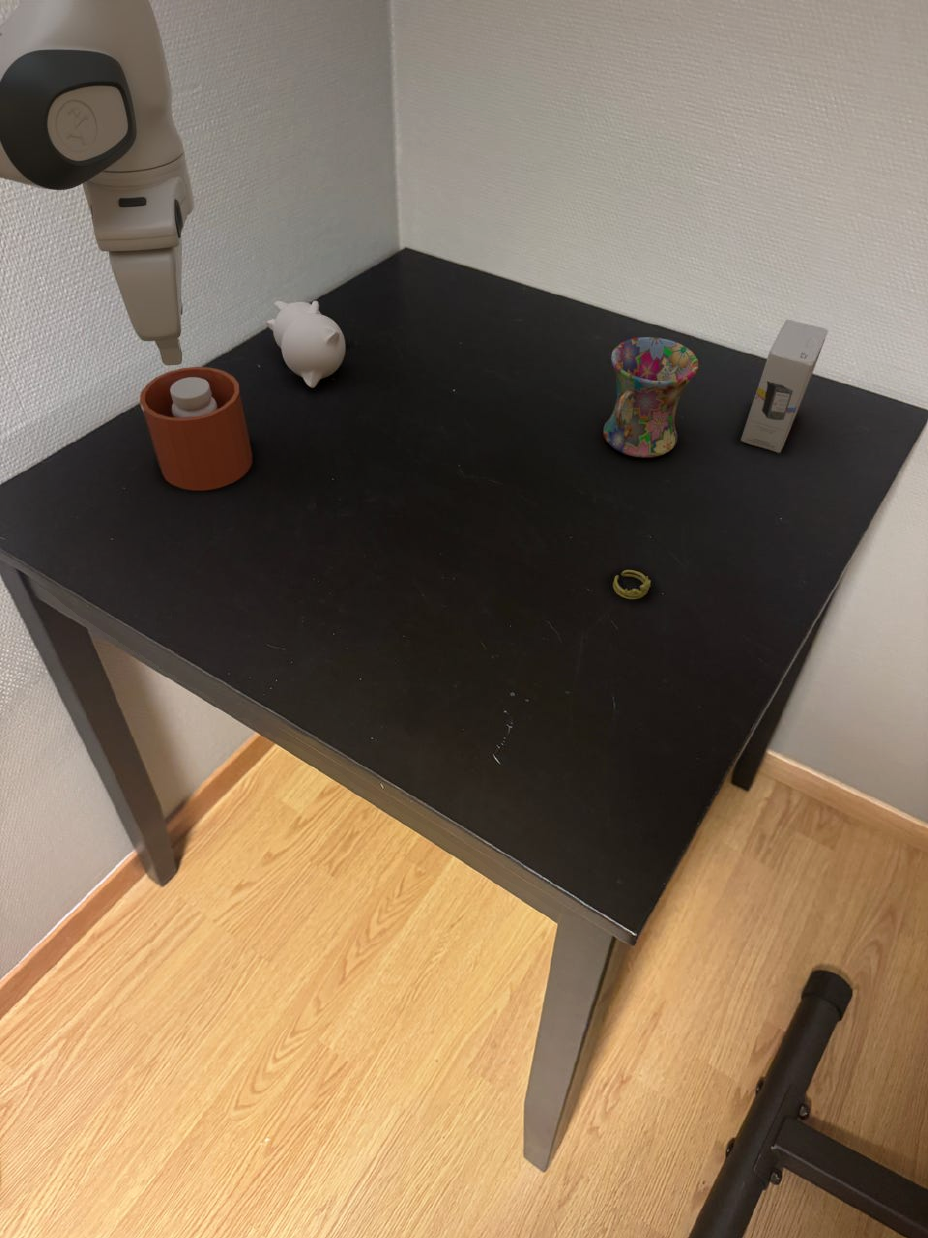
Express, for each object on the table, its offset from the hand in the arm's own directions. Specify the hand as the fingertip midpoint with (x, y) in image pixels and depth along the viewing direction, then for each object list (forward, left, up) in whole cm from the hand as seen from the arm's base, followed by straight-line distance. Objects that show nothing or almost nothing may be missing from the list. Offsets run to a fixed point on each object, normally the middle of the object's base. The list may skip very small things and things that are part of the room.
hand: (174, 336), depth 85 cm
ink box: (+65, -6, -16) cm, 67 cm away
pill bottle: (0, +1, -15) cm, 15 cm away
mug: (+48, -6, -16) cm, 51 cm away
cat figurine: (+14, +18, -16) cm, 28 cm away
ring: (+40, -28, -16) cm, 51 cm away
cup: (0, 0, -15) cm, 15 cm away
